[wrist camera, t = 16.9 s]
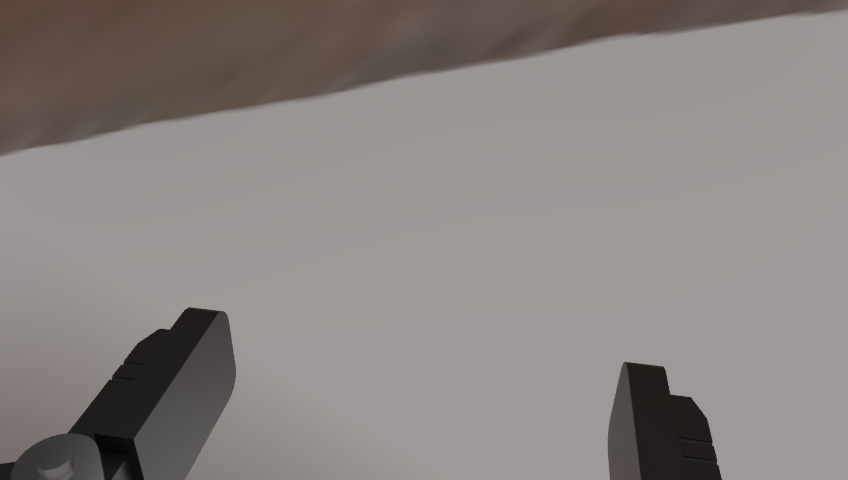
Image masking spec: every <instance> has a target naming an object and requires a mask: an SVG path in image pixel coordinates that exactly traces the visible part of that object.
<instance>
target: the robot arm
mask: <svg viewBox="0 0 848 480" xmlns="http://www.w3.org/2000/svg"><path fill="white" fill-rule="evenodd" d="M235 377H236V367H235V360H234V354H233V346H232V339H231V334H230V326H229V320H228V316H227V314H226V313H225V312H223V311H215V310H207V309H199V308H187V309H186V310H185V311H184V312H183V313H182V314H181V316H180V317H179V318H178V320H177V321H176V322H175V324H174V325H173V326H172V328H171V329H170V330H167V329H159V330H157V331H156V332H154V333H153V334H151V335H150V336H148V337H147V338H145V339H144V340H142V341H141V342H139V343H138V344H137V345H136V346H135V348H134V349H133V350H132V352H131V353H130V354H129V356H128V357H127V358H126V359H125V361H124V364H123V365H121V366H120V367H119V368H118V369H117V371H116V372H115V373H114V375H113V376H112V380H109V381H108V382H107V384H106V385H105V386H104V387H103V389H102V390H101V391H100V393H99V394H98V395H97V397H96V398H95V399H94V400H93V402H92V403H91V404H90V406H89V407H88V408H87V409H86V410H85V412H84V413H83V414H82V416H81V417H80V418H79V419H78V421H77V422H76V424H75V425H74V426H73V427H72V428H71V430H70V431H69V432H68V433H67V434H61V435H56V436H52V437H50V438H47V439H44V440H42V441H40V442H38V443H36V444H35V445H33V446H32V447H30V448H29V449H28V450H26V451H25V452H24V453H23V454H22V455H21V456H20V457H19V459H18V460H17V461H16V462H12V463H5V464H0V480H185V478H186V476H187V475H188V473H189V471H190V469H191V467H192V465H193V464H194V462H195V460H196V458H197V456H198V455H199V453H200V451H201V449H202V447H203V446H204V444H205V442H206V440H207V438H208V437H209V435H210V433H211V431H212V429H213V428H214V426H215V424H216V422H217V420H218V418H219V417H220V415H221V413H222V411H223V410H224V408H225V406H226V404H227V402H228V401H229V399H230V397H231V394H232V391H233V388H234V383H235ZM608 459H609V472H610V480H722V478H721V474H720V470H719V466H718V465H717V458H716V454H715V450H714V446H712V437H711V433H710V429H709V425H708V421H707V418H706V417H705V416H704V414H703V413H702V411H701V410H700V409H699V407H698V406H697V405H696V404H695V402H694V401H693V400H692V398H691V397H685V396H677V395H670V391H669V386H668V381H667V376H666V371H665V369H664V367H662V366H654V365H646V364H638V363H630V362H624V363H623V365H622V368H621V373H620V377H619V381H618V386H617V390H616V395H615V399H614V404H613V408H612V413H611V417H610V423H609V431H608Z"/></svg>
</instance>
